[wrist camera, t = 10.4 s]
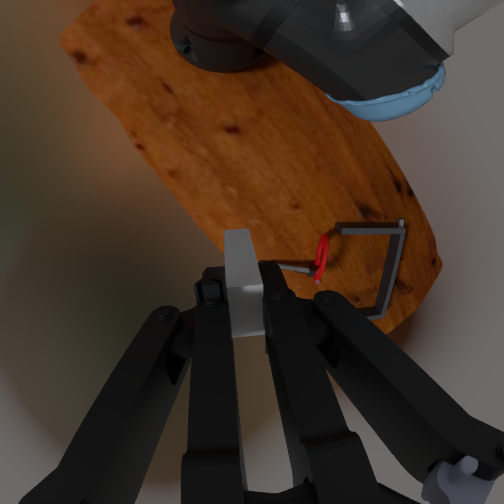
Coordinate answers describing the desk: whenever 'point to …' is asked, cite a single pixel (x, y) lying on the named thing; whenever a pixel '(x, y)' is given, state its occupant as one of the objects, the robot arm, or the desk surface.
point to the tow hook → (317, 267)
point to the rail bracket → (390, 264)
